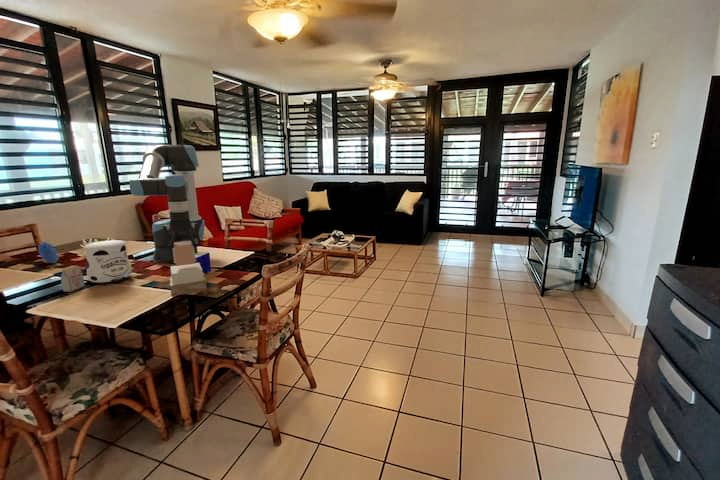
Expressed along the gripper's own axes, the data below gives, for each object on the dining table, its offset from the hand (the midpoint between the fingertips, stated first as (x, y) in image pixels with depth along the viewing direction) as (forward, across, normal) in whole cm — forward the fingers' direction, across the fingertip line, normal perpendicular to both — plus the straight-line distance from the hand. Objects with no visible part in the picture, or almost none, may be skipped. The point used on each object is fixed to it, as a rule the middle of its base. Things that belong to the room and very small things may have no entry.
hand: (184, 261), depth 150 cm
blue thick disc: (+13, -66, +74) cm, 100 cm away
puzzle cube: (+13, +5, +21) cm, 25 cm away
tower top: (+8, 0, 0) cm, 8 cm away
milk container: (+13, -32, +28) cm, 44 cm away
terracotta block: (+1, 0, 0) cm, 1 cm away
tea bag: (+13, -45, +22) cm, 52 cm away
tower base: (+13, 0, 0) cm, 13 cm away
